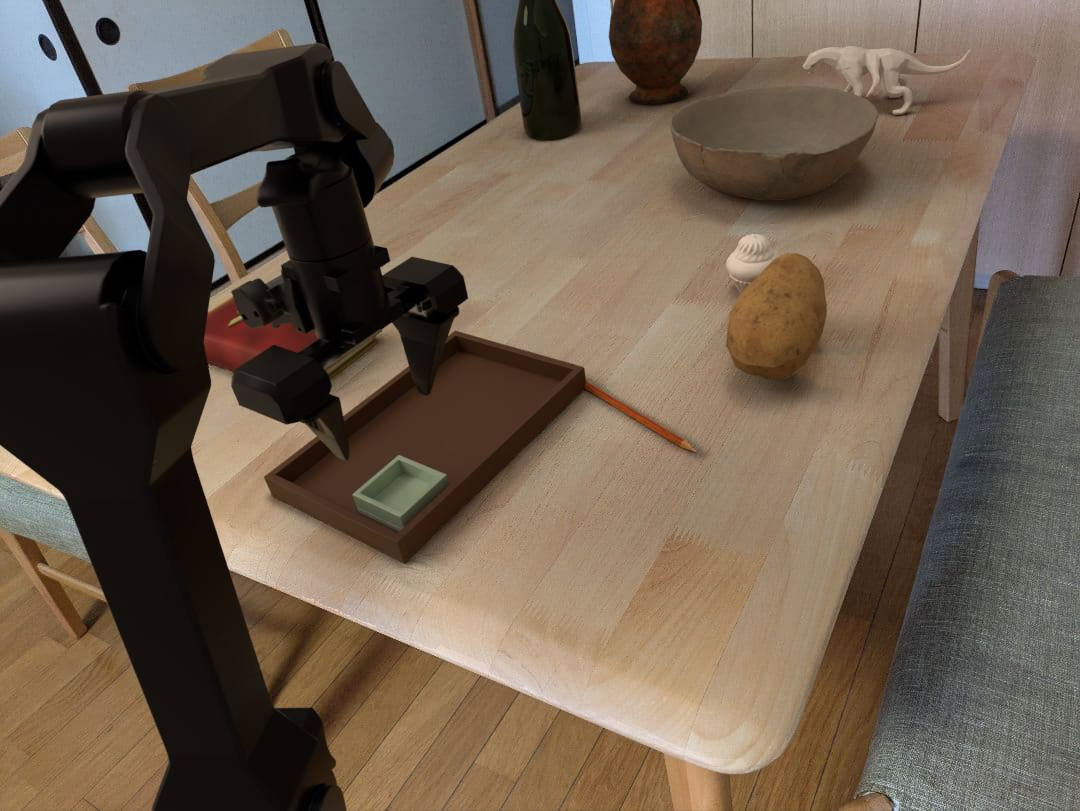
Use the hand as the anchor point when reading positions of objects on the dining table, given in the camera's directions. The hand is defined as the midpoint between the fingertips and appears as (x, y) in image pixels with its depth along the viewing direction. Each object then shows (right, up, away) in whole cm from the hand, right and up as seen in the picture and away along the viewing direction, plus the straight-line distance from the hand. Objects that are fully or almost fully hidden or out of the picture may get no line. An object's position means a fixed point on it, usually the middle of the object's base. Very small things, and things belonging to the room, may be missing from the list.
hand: (385, 424), depth 66 cm
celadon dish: (0, -7, +9) cm, 12 cm away
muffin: (+37, +15, +31) cm, 50 cm away
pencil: (+21, +1, +16) cm, 26 cm away
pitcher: (+37, +60, +92) cm, 115 cm away
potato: (+36, +6, +19) cm, 41 cm away
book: (-19, +8, +35) cm, 41 cm away
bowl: (+45, +34, +55) cm, 79 cm away
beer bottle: (+15, +51, +85) cm, 100 cm away
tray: (+2, -2, +17) cm, 17 cm away
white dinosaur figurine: (+68, +51, +72) cm, 111 cm away
